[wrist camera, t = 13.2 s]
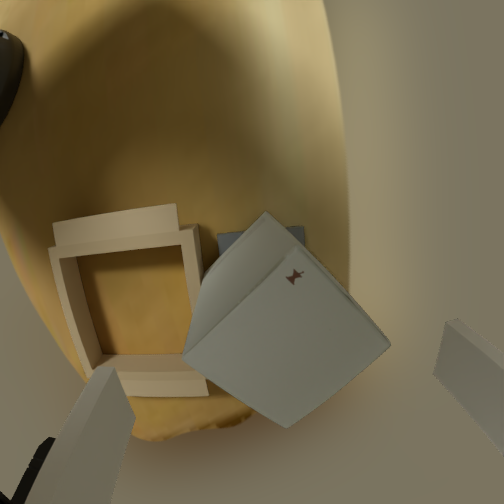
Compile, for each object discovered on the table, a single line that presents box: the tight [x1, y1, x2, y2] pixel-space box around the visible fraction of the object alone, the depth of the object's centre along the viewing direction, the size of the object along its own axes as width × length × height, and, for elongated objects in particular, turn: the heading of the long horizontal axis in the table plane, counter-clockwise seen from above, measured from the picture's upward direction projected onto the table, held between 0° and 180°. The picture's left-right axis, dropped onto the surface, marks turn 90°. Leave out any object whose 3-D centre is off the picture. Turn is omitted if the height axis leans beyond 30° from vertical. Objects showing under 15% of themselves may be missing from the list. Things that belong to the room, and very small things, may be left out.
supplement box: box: [182, 211, 391, 428], centre depth 18 cm, size 7×7×13 cm
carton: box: [48, 203, 209, 397], centre depth 24 cm, size 13×17×3 cm
